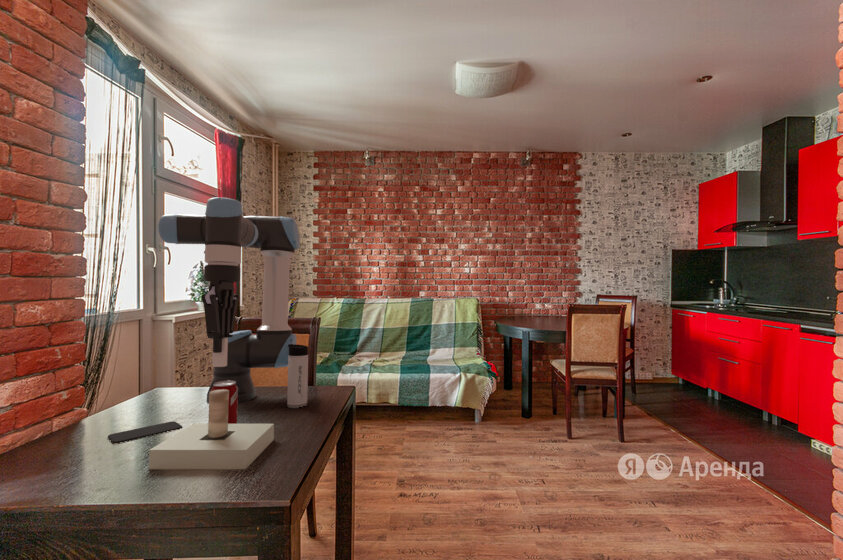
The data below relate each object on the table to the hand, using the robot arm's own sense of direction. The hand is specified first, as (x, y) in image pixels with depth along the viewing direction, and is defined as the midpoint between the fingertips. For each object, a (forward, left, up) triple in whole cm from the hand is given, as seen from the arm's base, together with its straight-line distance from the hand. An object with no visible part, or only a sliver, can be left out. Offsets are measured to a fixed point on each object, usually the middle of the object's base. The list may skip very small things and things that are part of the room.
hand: (219, 366), depth 88 cm
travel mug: (-37, +7, -20) cm, 43 cm away
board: (0, 0, -20) cm, 20 cm away
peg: (0, 0, -20) cm, 20 cm away
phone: (-13, -25, -21) cm, 35 cm away
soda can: (-17, -7, -20) cm, 27 cm away
